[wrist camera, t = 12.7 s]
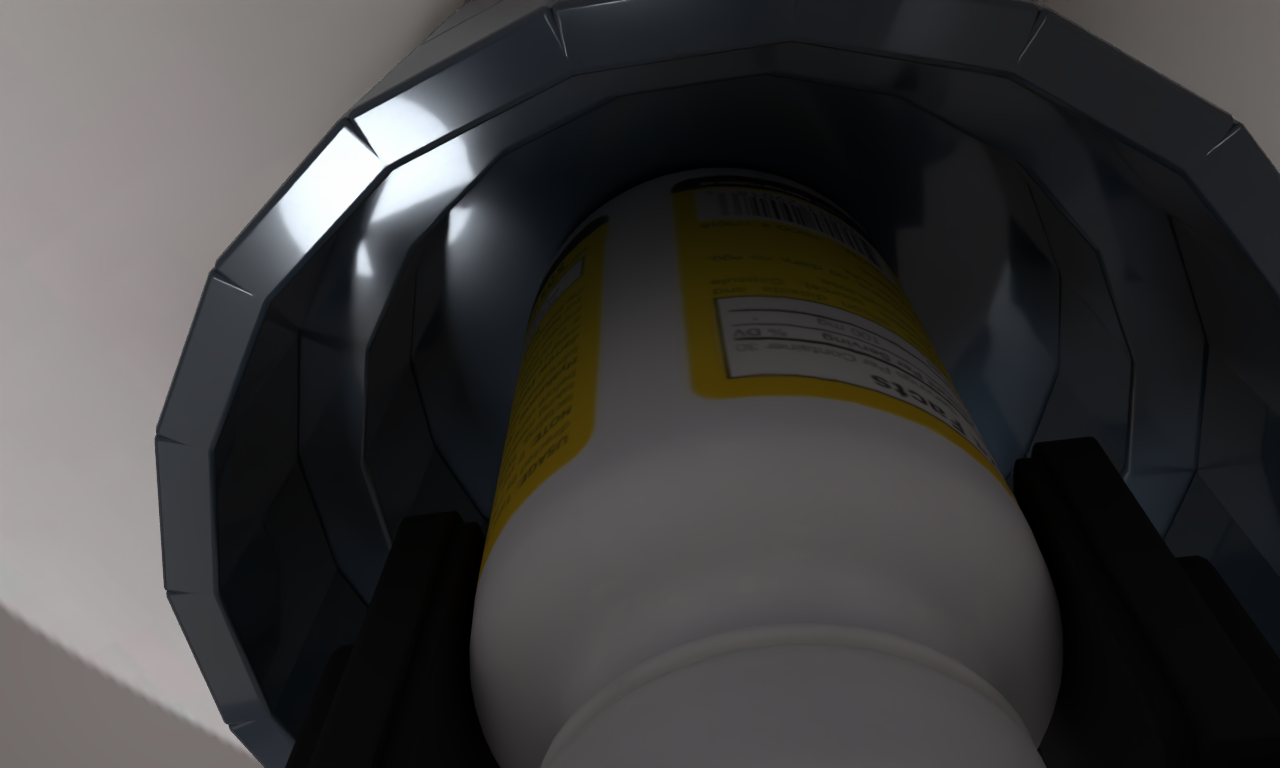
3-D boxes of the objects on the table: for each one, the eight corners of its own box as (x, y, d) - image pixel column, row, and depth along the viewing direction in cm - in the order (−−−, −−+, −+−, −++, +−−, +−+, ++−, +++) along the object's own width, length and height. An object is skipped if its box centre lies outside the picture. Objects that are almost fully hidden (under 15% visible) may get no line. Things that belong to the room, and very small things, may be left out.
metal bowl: (208, -7, 14) (-65, 102, 9) (1179, -171, 13) (1519, -156, 8) (436, 689, 20) (351, 1005, 15) (1126, 620, 19) (1303, 937, 14)
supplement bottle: (614, 531, 18) (586, 1243, 9) (468, 240, 15) (235, 828, 7) (942, 427, 17) (1262, 1111, 8) (840, 96, 14) (1145, 564, 6)
